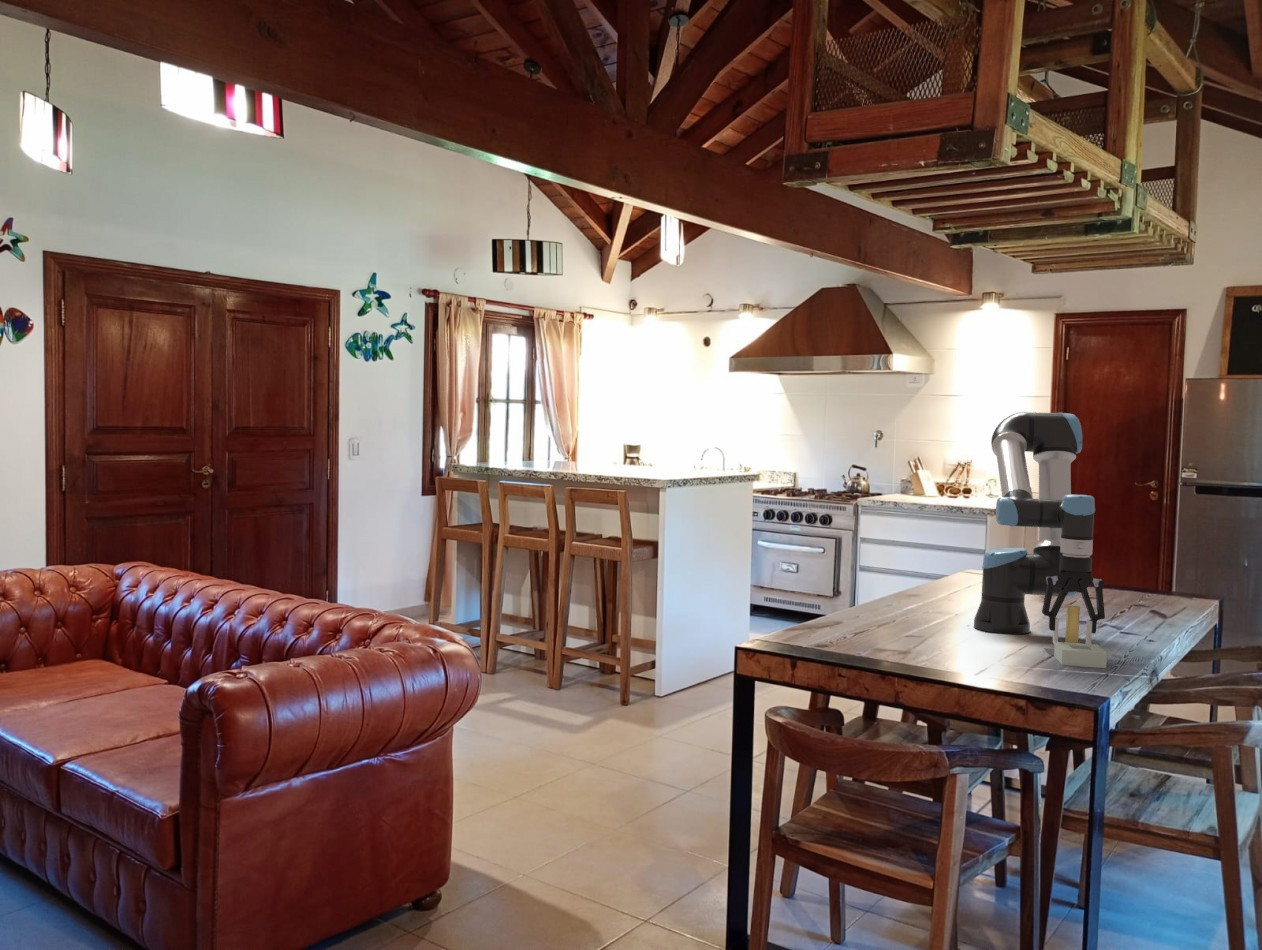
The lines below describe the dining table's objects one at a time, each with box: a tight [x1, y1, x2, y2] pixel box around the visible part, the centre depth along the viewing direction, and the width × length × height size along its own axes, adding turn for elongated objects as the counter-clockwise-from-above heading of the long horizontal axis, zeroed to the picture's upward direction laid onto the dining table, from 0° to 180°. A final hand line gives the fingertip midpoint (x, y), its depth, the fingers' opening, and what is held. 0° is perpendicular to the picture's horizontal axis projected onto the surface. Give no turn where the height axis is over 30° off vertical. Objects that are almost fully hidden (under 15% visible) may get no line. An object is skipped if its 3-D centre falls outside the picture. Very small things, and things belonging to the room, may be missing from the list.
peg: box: [1064, 604, 1081, 643], centre depth 257 cm, size 3×3×12 cm
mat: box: [1043, 647, 1054, 656], centre depth 257 cm, size 12×8×1 cm, turn 77°
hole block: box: [1053, 641, 1108, 669], centre depth 248 cm, size 10×10×4 cm
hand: (1071, 644), depth 257 cm, fingers open, 7 cm apart
